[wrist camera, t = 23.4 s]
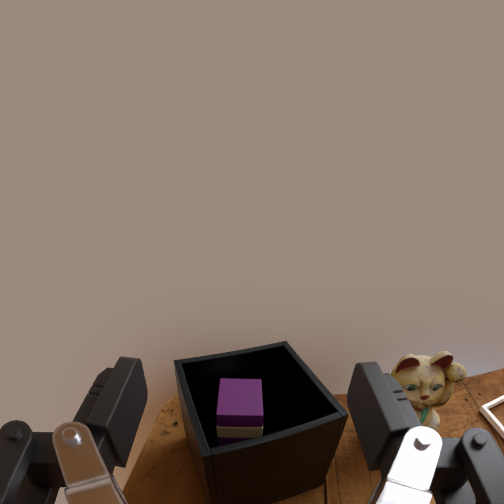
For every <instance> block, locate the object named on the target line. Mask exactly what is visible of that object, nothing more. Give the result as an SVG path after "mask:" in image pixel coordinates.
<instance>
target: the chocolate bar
mask: <svg viewBox="0 0 504 504" xmlns="http://www.w3.org/2000/svg"><path fill="white" fill-rule="evenodd" d="M216 416H217V437H218V443H219V446H224V445H228V444H233V443H237V442H241V441H245V440H249V439H253V438H257V437H261V436H262V434H263V400H262V383H261V379H226V378H220V384H219V394H218V403H217V413H216Z"/></svg>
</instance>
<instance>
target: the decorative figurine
mask: <svg viewBox="0 0 504 504" xmlns="http://www.w3.org/2000/svg"><path fill="white" fill-rule="evenodd" d="M452 361H453V356H452V354H451V353H449V352H447V351H441V352H438V353H437V354H435V355H434V356H433V357H432V358H431V357H429V356H423V355H422V356H421V355H418V356H414V355H412V354H408V355H405V356H403V357H402V359H400V361H399V362H398V363H397V365H396V366H395V367H394V369H393V370H392V373H391V376H392V377H394V378H395V379H396V380H397V381H398V382H399V384H400V386H401V388H402V389H403V392H404V393H405V395H406V397H407V400H409V402H410V404H411V406H412V407H413V409H414V411H415V413H416V415H417V417H418V418H419V420H420V422H421V424H422V426H424V427H428V428H431V429H433V430H435V431H437V430H438V428H439V425H440V418H439V416H438V414H437V412H436V411H435V410H434V409H432V407H439V406H442V405H444V404H445V403H446V402H447V401H448V400H449V399H450V397H451V395H452V393H453V389H454V383H455V382H456V383H458V382H459V381H462V380H464V379H465V378H466V370H465V368H464V367H463V365H461V364H460V363H452Z"/></svg>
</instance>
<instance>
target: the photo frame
mask: <svg viewBox="0 0 504 504" xmlns="http://www.w3.org/2000/svg"><path fill="white" fill-rule="evenodd" d="M503 401H504V395H503V396H501V397H499V398H497V399H495V400H493V401H491V402H489V403H487V404H485V405H483V406H481V408H480V410H479V411H480V412H481V413H482V414H483V415H484V416H485V418H486V419H487V420H488V421H489V422H490V424H491V425H492V426H493V427H494V428H495V429H496V431H497V432H498V433H499V434H500V436H501V437H502V438H503V439H504V427H503V426H502V424H501V423H500V422H499V421H498V420H497V419H496V417H495V416H494V415H493V414H492V413H491V412H490V411H489V410H488V409H490V408H492V407H494V406H496V405H498V404H500V403H502V402H503Z"/></svg>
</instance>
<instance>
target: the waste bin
mask: <svg viewBox="0 0 504 504" xmlns="http://www.w3.org/2000/svg"><path fill="white" fill-rule="evenodd" d="M174 366H175V374H176V380H177V387H178V394H179V400H180V406H181V412H182V417H183V423H184V429H185V434H186V438H187V442H188V445H189V448H190V452H191V455H192V458H193V461H194V464H195V468H196V471H197V474H198V477H199V480H200V483H201V486H202V488H203V491H204V494H205V497H206V500H207V502H208V504H271V503H274V502H277V501H280V500H283V499H286V498H289V497H292V496H295V495H298V494H300V493H303V492H306V491H308V490H311V489H314V488H316V487H319V486H321V485H323V482H324V480H325V478H326V475H327V473H328V470H329V468H330V465H331V463H332V460H333V457H334V455H335V452H336V449H337V447H338V444H339V441H340V438H341V436H342V433H343V430H344V427H345V424H346V421H347V418H348V415H349V413H348V412H347V411H346V410H345V409H344V408H343V407H342V405H341V404H340V403H339V402H338V401H337V400H336V399H335V397H334V396H333V395H332V394H331V393H330V392H329V391H328V390H327V388H326V387H325V386H324V385H323V384H322V382H321V381H320V380H319V379H318V378H317V377H316V376H315V374H314V373H313V372H312V371H311V370H310V368H309V367H308V366H307V365H306V364H305V363H304V362H303V360H302V359H301V358H300V357H299V355H298V354H297V353H296V352H295V351H294V350H293V348H292V347H291V346H290V345H289V344H288V342H287V341H283V342H278V343H274V344H269V345H264V346H259V347H253V348H248V349H243V350H237V351H231V352H226V353H220V354H214V355H207V356H201V357H194V358H188V359H181V360H174ZM220 378H226V379H261V383H262V400H263V434H262V436H261V437H257V438H253V439H249V440H245V441H241V442H237V443H233V444H228V445H224V446H219V443H218V437H217V416H216V413H217V403H218V394H219V384H220Z"/></svg>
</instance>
